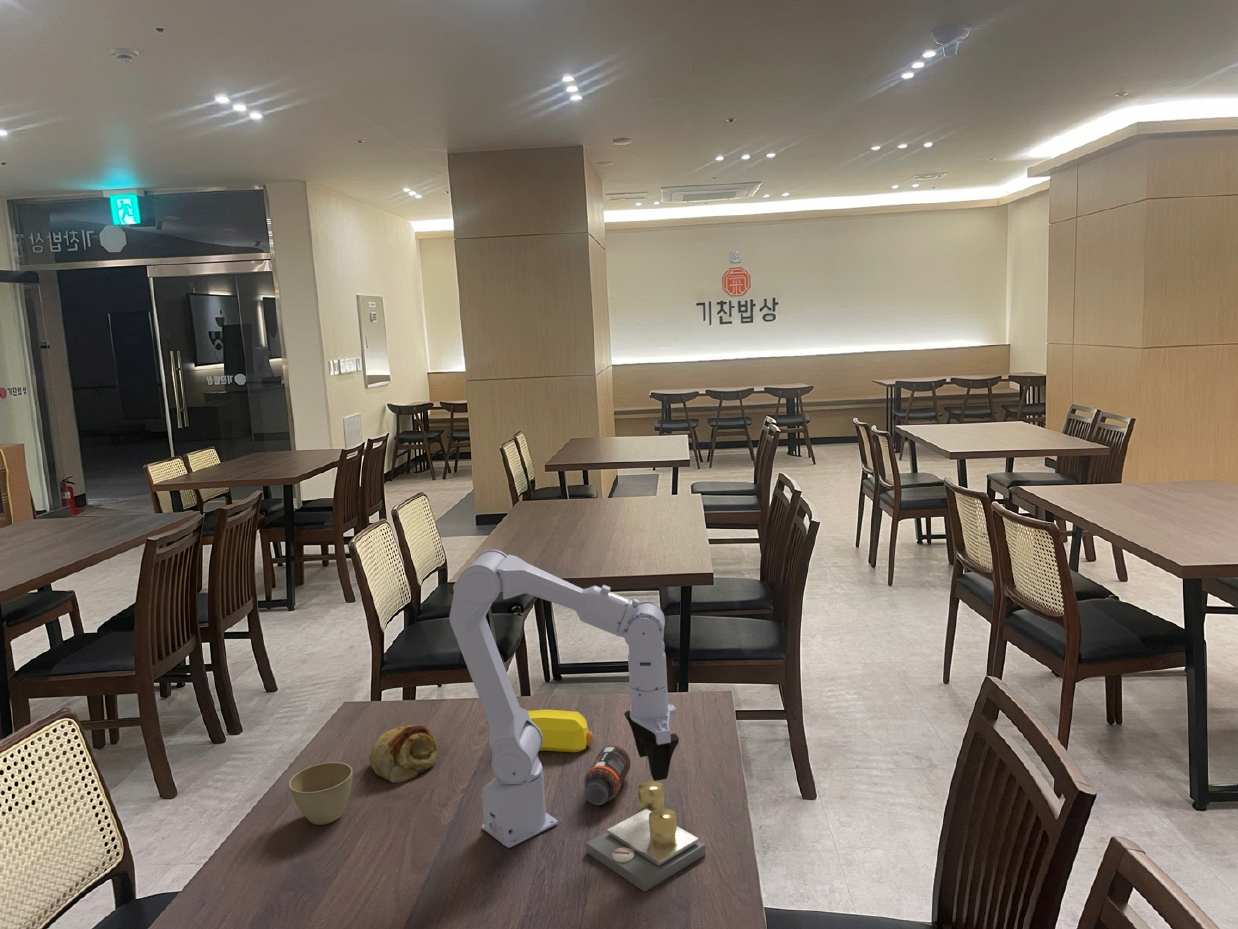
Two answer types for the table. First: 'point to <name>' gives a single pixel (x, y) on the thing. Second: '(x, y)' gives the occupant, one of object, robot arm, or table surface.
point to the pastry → (403, 753)
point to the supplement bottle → (606, 774)
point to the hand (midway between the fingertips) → (652, 767)
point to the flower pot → (322, 791)
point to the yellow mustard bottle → (562, 730)
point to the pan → (638, 838)
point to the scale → (639, 861)
